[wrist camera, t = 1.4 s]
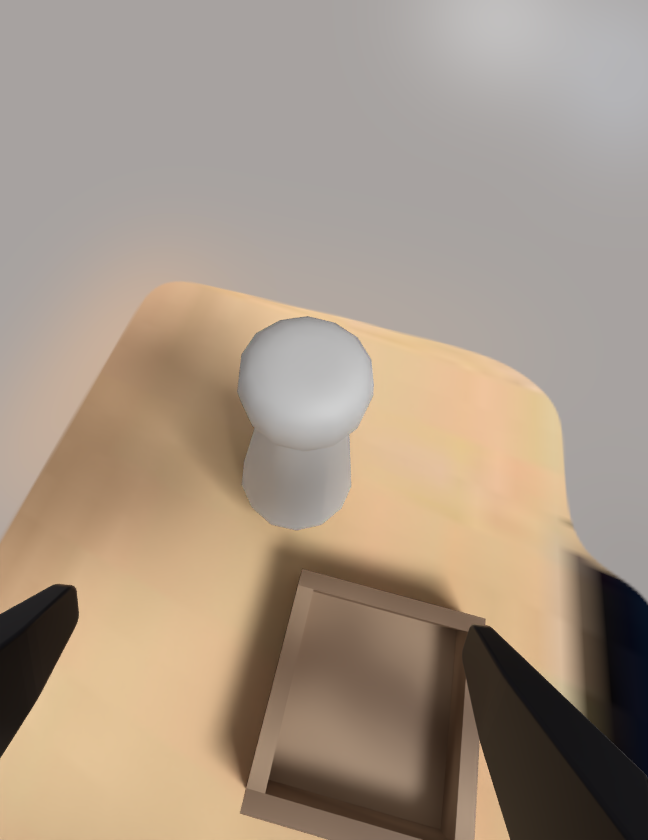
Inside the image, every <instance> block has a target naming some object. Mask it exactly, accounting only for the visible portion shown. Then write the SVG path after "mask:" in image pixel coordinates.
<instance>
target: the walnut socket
mask: <svg viewBox="0 0 648 840" xmlns="http://www.w3.org/2000/svg"><path fill="white" fill-rule="evenodd" d="M473 624H478V625H485V618H481V617H477V616H474V615H470V614H466V613H463V612H459V611H455V610H452V609H448V608H444V607H441V606H437V605H433V604H430V603H426V602H422V601H419V600H415V599H411V598H408V597H404V596H400V595H397V594H393V593H389V592H386V591H382V590H378V589H375V588H371V587H367V586H364V585H360V584H356V583H353V582H349V581H345V580H342V579H338V578H334V577H331V576H327V575H323V574H320V573H316V572H312V571H309V570H305V569H302V572H301V575H300V579H299V583H298V587H297V590H296V594H295V598H294V602H293V606H292V610H291V614H290V618H289V622H288V626H287V630H286V633H285V637H284V641H283V645H282V649H281V653H280V657H279V661H278V665H277V669H276V673H275V676H274V680H273V684H272V688H271V692H270V696H269V700H268V704H267V708H266V712H265V716H264V719H263V723H262V727H261V731H260V735H259V739H258V743H257V747H256V751H255V755H254V759H253V762H252V766H251V770H250V774H249V778H248V782H247V786H246V790H245V794H244V798H243V803H242V807H241V811H240V814H243V815H247V816H250V817H253V818H257V819H260V820H264V821H267V822H270V823H274V824H277V825H281V826H284V827H287V828H291V829H294V830H298V831H301V832H304V833H308V834H311V835H315V836H318V837H321V838H325V839H328V840H474V839H475V819H476V799H477V779H478V759H479V736H478V731H477V727H476V723H475V718H474V714H473V709H472V704H471V699H470V695H469V690H468V685H467V681H466V676H465V671H464V666H463V661H462V650H463V647H464V643H465V640H466V637H467V634H468V630H469V628H470V626H471V625H473Z"/></svg>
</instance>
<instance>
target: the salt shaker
mask: <svg viewBox="0 0 648 840" xmlns="http://www.w3.org/2000/svg"><path fill="white" fill-rule="evenodd" d="M373 387H374V383H373V373H372V362H371V358H370V357H369V355H368V354H367V352H366V350H365V349H364V347H363V345H362V344H361V342H360V341H359V339H358V338H357V337H356V336H354V335H353V334H351V333H350V332H348V331H347V330H345V329H344V328H342V327H340V326H339V325H337V324H336V323H333V322H329V321H325V320H321V319H316V318H312V317H308V316H307V317H300V318H293V319H285V320H279V321H278V322H276V323H274V324H272V325H270V326H268V327H267V328H265V329H263V330H261V331H259V332H258V333H256V334H255V336H254V337H253V339H252V340H251V341H250V343H249V344H248V346H247V347H246V349H245V350H244V352H243V353H242V355H241V363H240V372H239V381H238V390H237V392H238V395H239V398H240V401H241V403H242V405H243V407H244V409H245V411H246V414H247V416H248V418H249V420H250V422H251V424H252V426H253V427H254V432H253V435H252V438H251V441H250V444H249V447H248V451H247V454H246V457H245V460H244V468H243V477H242V487H243V489H244V491H245V494H246V496H247V498H248V500H249V503H250V505H251V507H252V508H253V509H254V510H255V511H256V512H257V513H259V514H260V515H261V516H262V517H263V518H264V519H265V520H267V521H268V522H269V523H270V524H271V525H275V526H279V527H284V528H288V529H293V530H301V529H305V528H310V527H314V526H319V525H322V524H323V523H324V522H325V521H326V520H328V519H329V518H330V517H331V516H333V515H334V514H335V513H336V512H337V511H339V510H340V509H341V508H342V506H343V504H344V501H345V499H346V497H347V495H348V492H349V490H350V488H351V465H350V439H349V434H350V433H352V432H353V431H354V430H356V429H357V428H358V426H359V424H360V422H361V420H362V418H363V415H364V413H365V411H366V409H367V407H368V405H369V403H370V401H371V399H372V397H373Z"/></svg>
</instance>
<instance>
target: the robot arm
mask: <svg viewBox="0 0 648 840" xmlns="http://www.w3.org/2000/svg"><path fill="white" fill-rule="evenodd" d="M78 618H79V609H78V599H77V591H76V588H75V587H74V586H72V585H64V584H55V585H52V586H50V587H48V588H46V589H45V590H43V591H41V592H39V593H37V594H36V595H34V596H32V597H30V598H28V599H27V600H25V601H23V602H21V603H19V604H18V605H16V606H14V607H12V608H10V609H9V610H7V611H5V612H3V613H1V614H0V758H1V756H2V755H3V753H4V752H5V750H6V748H7V747H8V745H9V744H10V742H11V741H12V739H13V737H14V736H15V734H16V733H17V731H18V730H19V728H20V726H21V725H22V723H23V722H24V720H25V719H26V717H27V715H28V714H29V712H30V711H31V709H32V707H33V706H34V704H35V702H36V701H37V699H38V697H39V696H40V694H41V692H42V690H43V688H44V686H45V685H46V683H47V681H48V679H49V677H50V675H51V673H52V671H53V669H54V667H55V665H56V663H57V661H58V659H59V658H60V656H61V654H62V652H63V650H64V648H65V646H66V644H67V642H68V640H69V638H70V636H71V634H72V632H73V630H74V629H75V627H76V624H77V622H78ZM462 661H463V666H464V671H465V676H466V681H467V685H468V690H469V695H470V699H471V704H472V709H473V714H474V718H475V723H476V727H477V731H478V736H479V739H480V743H481V746H482V750H483V753H484V756H485V760H486V763H487V766H488V769H489V772H490V776H491V779H492V782H493V785H494V789H495V792H496V795H497V798H498V801H499V805H500V808H501V811H502V814H503V818H504V821H505V824H506V827H507V831H508V834H509V837H510V840H648V779H647V777H646V775H645V774H644V773H643V772H642V771H641V770H640V769H639V768H638V767H637V766H636V765H635V764H634V763H633V762H632V761H631V760H630V759H629V758H628V757H627V756H626V755H625V754H624V753H623V752H621V751H620V750H619V749H618V748H617V747H616V746H615V745H614V744H613V743H612V742H611V741H610V740H609V739H608V738H607V737H606V736H605V735H604V734H603V733H602V732H601V731H599V730H598V729H597V728H596V727H595V726H594V725H593V724H592V723H591V722H590V721H589V720H588V719H587V718H586V717H585V716H584V715H583V714H582V713H581V712H580V711H579V710H577V709H576V708H575V707H574V706H573V705H572V704H571V703H570V702H569V701H568V700H567V699H566V698H565V697H564V696H563V695H562V694H561V693H560V692H559V691H558V690H557V689H555V688H554V687H553V686H552V685H551V684H550V683H549V682H548V681H547V680H546V679H545V678H544V677H543V676H542V675H541V674H540V673H539V672H538V671H537V670H536V669H535V668H533V667H532V666H531V665H530V664H529V663H528V662H527V661H526V660H525V659H524V658H523V657H522V656H521V655H520V654H519V653H518V652H517V651H516V650H515V649H514V648H513V647H511V646H510V645H509V644H508V643H507V642H506V641H505V640H504V639H503V638H502V637H501V636H500V635H499V634H498V633H497V632H496V631H495V630H494V629H493V628H491V627H490V626H487V625H478V624H473V625H471V626H470V628H469V630H468V634H467V637H466V640H465V643H464V647H463V650H462Z"/></svg>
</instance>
